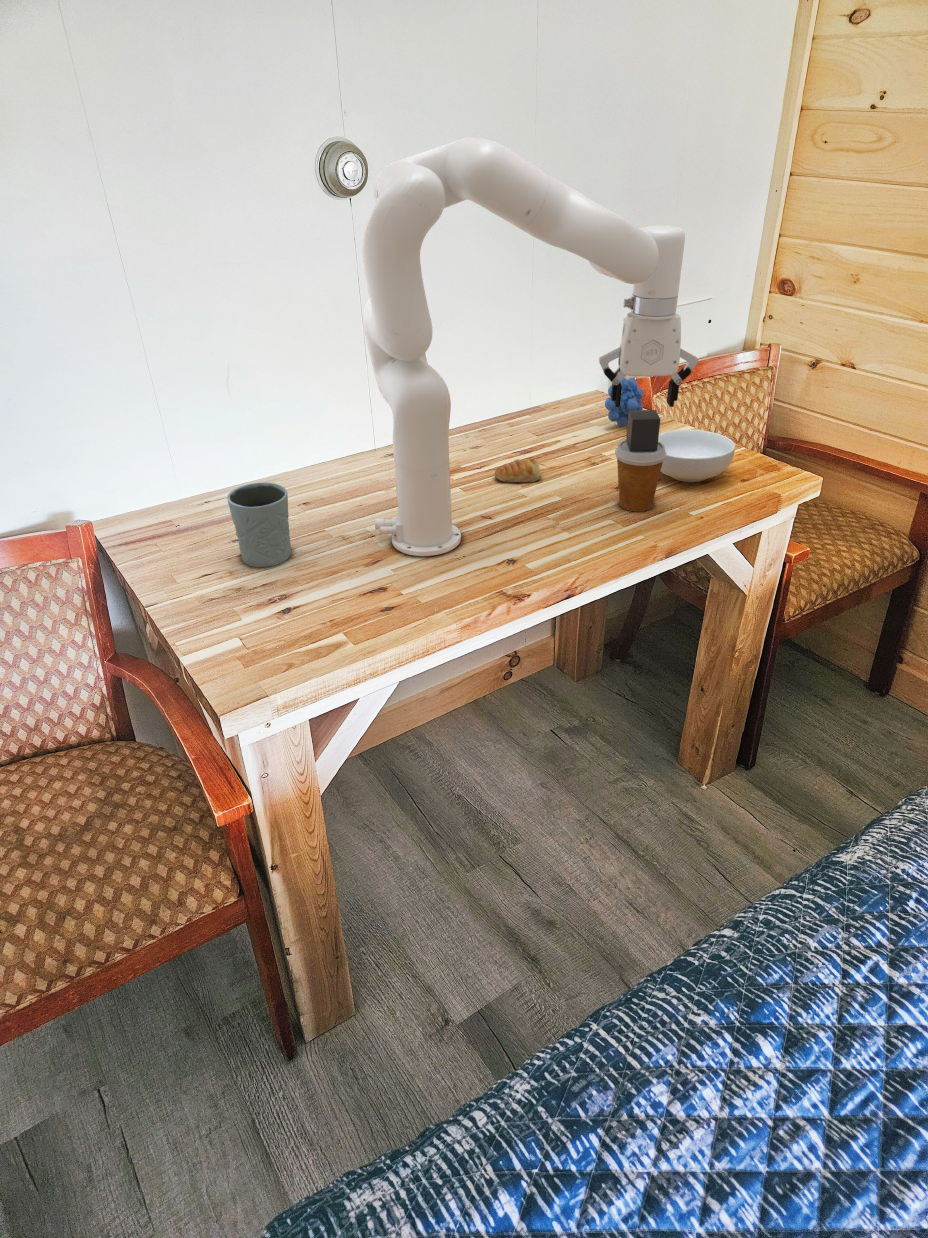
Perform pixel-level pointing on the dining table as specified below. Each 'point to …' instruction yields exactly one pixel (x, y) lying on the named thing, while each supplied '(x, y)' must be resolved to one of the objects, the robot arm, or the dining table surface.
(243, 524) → the grey embossed cup
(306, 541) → the dining table surface
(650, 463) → the disposable coffee cup
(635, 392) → the grapes
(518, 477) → the pastry
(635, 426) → the black block
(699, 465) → the cereal bowl
